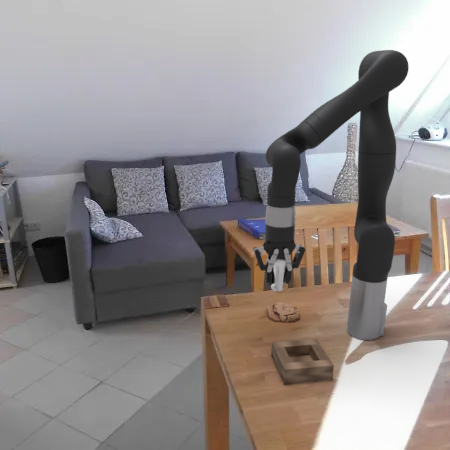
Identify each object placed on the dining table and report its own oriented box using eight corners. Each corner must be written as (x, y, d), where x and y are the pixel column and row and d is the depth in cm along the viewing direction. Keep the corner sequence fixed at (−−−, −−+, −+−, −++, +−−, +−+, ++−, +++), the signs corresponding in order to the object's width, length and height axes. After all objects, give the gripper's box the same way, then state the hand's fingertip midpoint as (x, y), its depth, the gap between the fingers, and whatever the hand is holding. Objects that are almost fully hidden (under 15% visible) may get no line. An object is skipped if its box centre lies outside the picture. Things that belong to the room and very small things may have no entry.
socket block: (315, 352, 128) (316, 338, 127) (332, 379, 117) (333, 365, 115) (271, 355, 126) (271, 342, 125) (284, 384, 115) (284, 369, 113)
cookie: (297, 326, 141) (297, 317, 140) (261, 320, 144) (262, 311, 143) (302, 311, 150) (303, 302, 149) (269, 305, 153) (269, 297, 152)
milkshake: (288, 293, 127) (290, 258, 124) (267, 291, 128) (269, 256, 125) (289, 286, 131) (291, 251, 128) (269, 284, 132) (271, 250, 129)
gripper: (302, 216, 128) (299, 275, 133) (249, 218, 126) (248, 279, 131) (312, 224, 121) (308, 287, 126) (256, 227, 119) (254, 291, 124)
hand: (277, 282), depth 129 cm, fingers closed on milkshake, 4 cm apart
